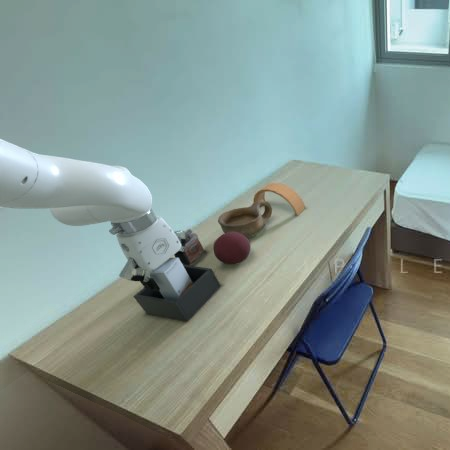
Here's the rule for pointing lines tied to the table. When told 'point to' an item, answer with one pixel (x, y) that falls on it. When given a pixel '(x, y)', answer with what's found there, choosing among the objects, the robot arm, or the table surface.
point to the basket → (187, 302)
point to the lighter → (193, 247)
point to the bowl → (246, 219)
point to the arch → (283, 192)
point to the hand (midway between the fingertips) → (170, 276)
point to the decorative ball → (232, 248)
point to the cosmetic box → (171, 279)
